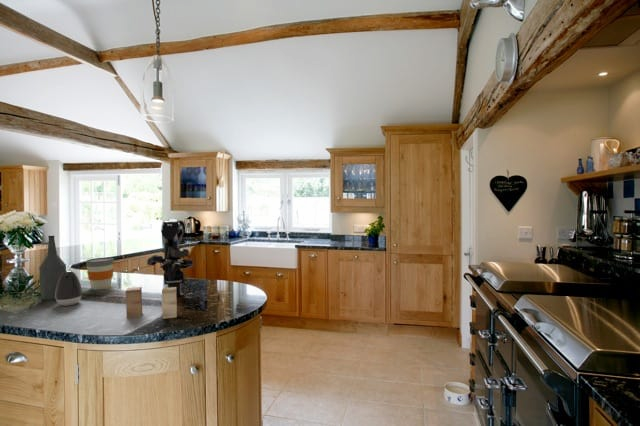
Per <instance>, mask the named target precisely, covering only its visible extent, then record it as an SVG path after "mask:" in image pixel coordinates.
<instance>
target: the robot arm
mask: <svg viewBox="0 0 640 426" xmlns="http://www.w3.org/2000/svg"><path fill="white" fill-rule="evenodd" d="M160 232H161V235H162V239H163V242H164V243H163V245H164V246H163V250H162V254H163V256H162V255H156V254H155V255H152V256H151V257H149V258H148V259H147V262H146V265H148V266H155V265H156V264H161V266H160V267H159V268H161V269H162V270H163V281H164V282H163V283H164V286H165V285H167V288H170V287H176V295H177V298H178V297H181V296H184V293H182V290H181V289H182V288H181V284H184V283H185V281H186V280H185V273H184V271H183V270H182V269H188V268H191V267H193V266H194V260H193V259H190V258H185V257H189V253H190V250H189V249H188V248H183V249H182V250H181V249H180V247H179V244H180V243H181V242H182V241H183V237H184V225H183V224H182V223H180V219H179V218H170V219H168V220H165V221H163V223H161V228H160ZM181 259H182V260H181Z"/></svg>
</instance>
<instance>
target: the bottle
mask: <svg viewBox="0 0 640 426" xmlns="http://www.w3.org/2000/svg"><path fill="white" fill-rule="evenodd" d="M55 237H56V236H55V235H48V241H47V242H48V243H47V253H46V256H45V258H44V260H43V261H42V262H41V264H40V265H39V268H38V269H39V287H40V289H39V290H40V299H41V300H45V301H52V300H56V299H55V291H56V286H57V282H58V280H59V277H60V276H61V274H62V273H63V272H65V271H67V265H66V263H65V262H64V261H63V260H62V259H61V257H60V256H59V255H58V252H57V247H56V242H55Z"/></svg>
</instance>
